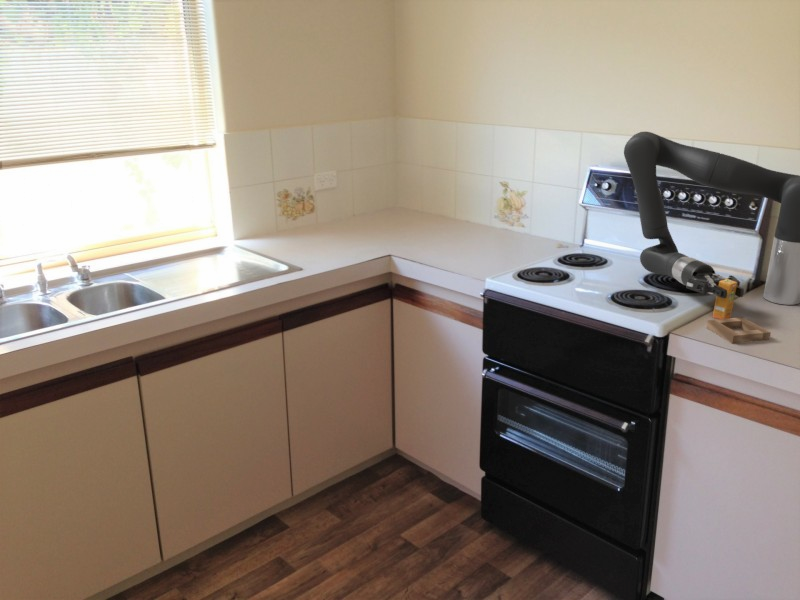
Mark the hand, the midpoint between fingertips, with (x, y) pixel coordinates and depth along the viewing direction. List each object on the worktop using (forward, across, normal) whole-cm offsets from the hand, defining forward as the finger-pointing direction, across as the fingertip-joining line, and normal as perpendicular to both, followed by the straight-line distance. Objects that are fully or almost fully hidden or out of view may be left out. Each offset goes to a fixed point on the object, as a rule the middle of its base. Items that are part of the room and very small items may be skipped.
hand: (733, 293), depth 181 cm
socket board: (+7, -3, +8) cm, 11 cm away
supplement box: (-3, 0, +8) cm, 8 cm away
